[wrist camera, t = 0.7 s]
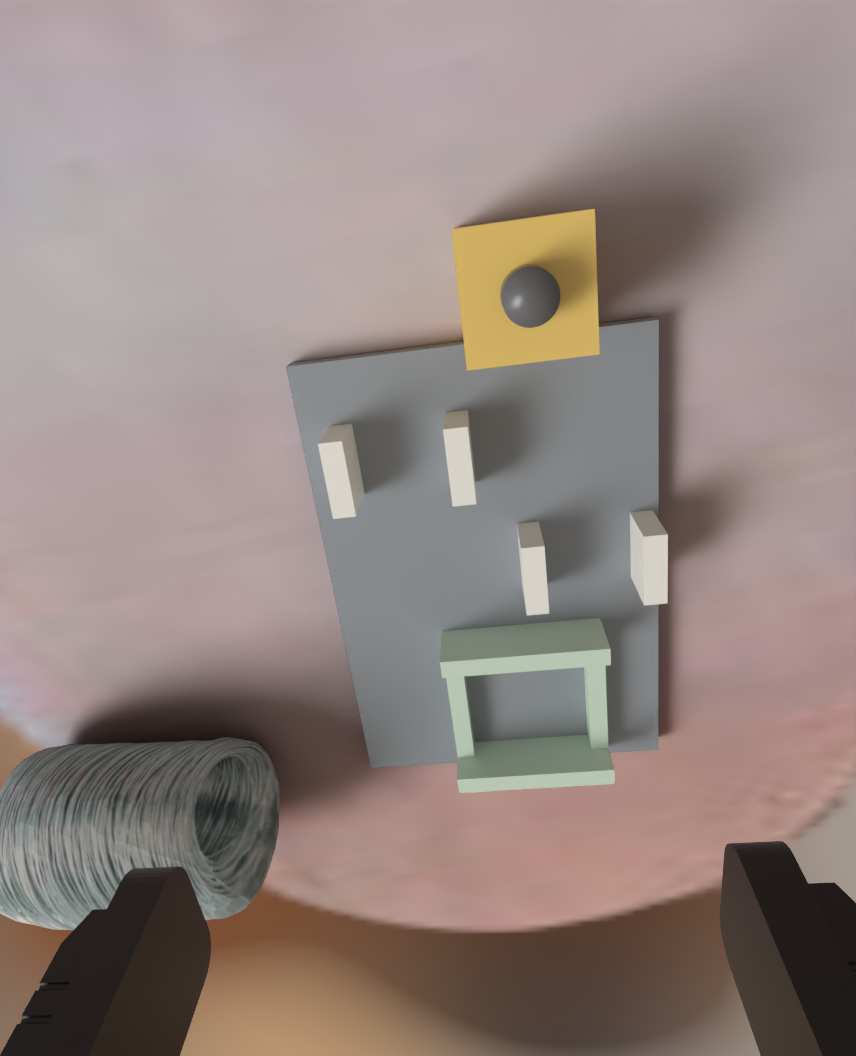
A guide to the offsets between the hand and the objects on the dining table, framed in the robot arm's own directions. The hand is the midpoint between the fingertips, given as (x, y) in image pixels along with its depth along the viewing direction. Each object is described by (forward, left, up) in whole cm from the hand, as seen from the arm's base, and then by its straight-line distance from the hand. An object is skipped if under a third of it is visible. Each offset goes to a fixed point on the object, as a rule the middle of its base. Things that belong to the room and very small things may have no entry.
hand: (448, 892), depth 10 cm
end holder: (+11, +2, -19) cm, 22 cm away
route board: (+5, +1, -20) cm, 21 cm away
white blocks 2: (+4, +5, -19) cm, 20 cm away
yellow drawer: (-7, +3, -20) cm, 21 cm away
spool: (+15, -17, -20) cm, 31 cm away
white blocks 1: (-1, -2, -19) cm, 19 cm away
